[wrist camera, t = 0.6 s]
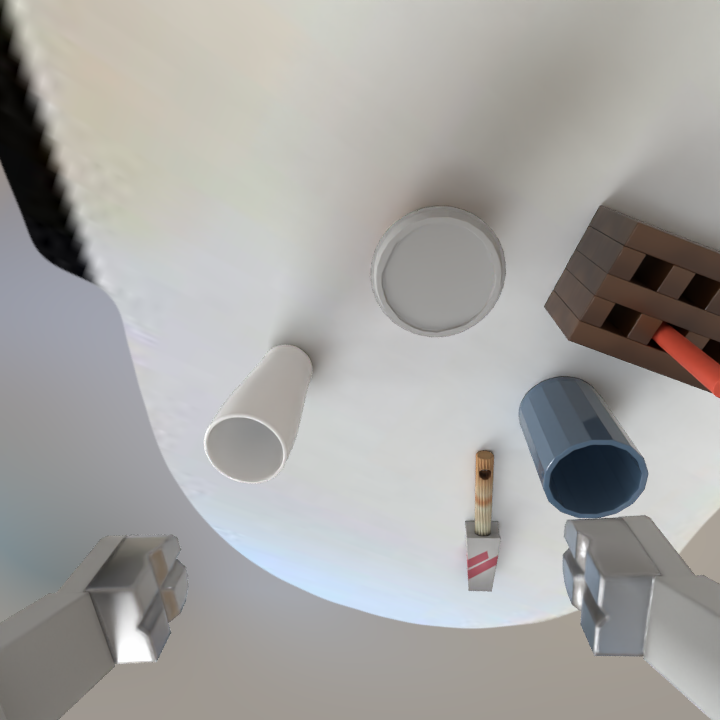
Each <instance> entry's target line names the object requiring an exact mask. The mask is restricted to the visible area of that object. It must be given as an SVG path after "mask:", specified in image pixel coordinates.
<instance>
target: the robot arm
mask: <svg viewBox="0 0 720 720" xmlns="http://www.w3.org/2000/svg"><path fill="white" fill-rule="evenodd" d="M564 538H565V540H566V542H567V544H568V546H569V548H568V550H567V551H566V552H565V553H564V554H563V575H564V582H565V586H566V590H567V593H568V596H569V598H570V601H571V603H572V605H573V606H575V607H576V608H577V609H578V610H580V611H581V626H582V629H583V631H584V633H585V635H586V638H587V640H588V642H589V645H590V647H591V649H592V651H593V654H594V655H595V656H644V658H643V659H644V660H645V661H646V662H648V663H649V664H650V665H651V666H652V667H653V668H654V669H655V670H657V671H658V672H659V673H660V674H661V675H662V676H663V677H664V678H665V679H667V680H668V681H669V682H670V683H671V684H672V685H673V686H674V687H675V688H677V689H678V690H679V691H680V692H681V693H682V694H684V695H685V696H686V697H687V698H688V699H689V700H690V701H691V702H692V703H693V704H694V705H696V706H697V707H698V708H699V709H700V710H701V711H702V712H703V713H704V714H706V715H707V716H708V717H709V718H710V719H711V720H720V584H719V583H717V582H715V581H713V580H711V579H709V578H708V577H706V576H704V575H695V574H694V573H693V572H692V571H691V569H690V568H689V567H688V565H687V564H686V563H685V562H684V560H683V559H682V558H681V557H680V555H679V554H678V553H677V551H676V550H675V549H674V548H673V546H672V545H671V544H670V543H669V541H668V540H667V539H666V537H665V536H664V535H663V534H662V532H661V531H660V530H659V529H658V527H657V526H656V525H655V523H654V522H653V521H652V520H651V518H649V517H647V516H646V515H641V516H625V517H618V518H599V519H576V520H567V521H566V524H565V529H564ZM180 551H181V548H180V545H179V541H178V538H177V537H176V536H174V535H129V536H126V535H122V536H106V537H104V538H102V539H100V540H99V541H98V543H97V544H96V545H95V547H94V548H93V549H92V550H91V551H90V552H89V554H88V555H87V556H86V557H85V559H84V560H83V561H82V562H81V563H80V565H79V566H78V567H77V569H76V570H75V571H74V572H73V573H72V575H71V576H70V577H69V578H68V579H67V581H66V582H65V583H64V584H63V586H62V587H61V588H60V589H59V590H58V592H57V593H49V594H47V595H45V596H44V597H43V598H41V599H39V600H37V601H36V602H34V603H33V604H31V605H29V606H27V607H26V608H24V609H22V610H21V611H19V612H17V613H16V614H14V615H12V616H11V617H9V618H7V619H6V620H4V621H2V622H1V623H0V720H58V719H60V718H61V717H62V716H63V715H64V714H65V713H66V712H67V711H68V710H69V709H70V708H71V707H72V706H73V705H74V704H76V703H77V702H78V701H79V700H80V699H81V698H82V697H83V696H84V695H85V694H86V693H87V692H88V691H89V690H90V689H92V688H93V687H94V686H95V685H96V684H97V683H98V682H99V681H100V680H101V679H102V678H103V677H104V676H105V675H106V674H107V673H109V672H110V671H111V670H112V669H113V668H114V667H115V664H125V663H146V662H157V660H158V658H159V656H160V654H161V652H162V650H163V648H164V646H165V644H166V642H167V639H168V637H169V635H170V634H171V631H170V627H169V624H168V623H169V622H171V621H172V620H173V619H174V618H175V617H177V616H178V615H179V614H180V613H181V611H182V609H183V606H184V604H185V602H186V597H187V591H188V575H187V570H186V567H185V566H184V565H183V564H182V563H181V562H180V561H179V560H178V559H177V556H178V555H179V553H180Z"/></svg>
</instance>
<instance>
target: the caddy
mask: <svg viewBox="0 0 720 720" xmlns="http://www.w3.org/2000/svg"><path fill="white" fill-rule="evenodd" d="M544 307H545V309H546V310H547V311H548V313H549V314H550V315H551V317H552V318H553V320H554V321H555V322H556V324H557V325H558V327H559V328H560V329H561V331H562V332H563V334H564V335H565V336H566V338H567V339H568V340H569V341H572V342H575V343H577V344H580V345H583V346H586V347H588V348H591V349H594V350H596V351H599V352H602V353H605V354H607V355H610V356H613V357H615V358H618V359H621V360H624V361H626V362H629V363H632V364H634V365H637V366H640V367H643V368H645V369H648V370H651V371H653V372H656V373H659V374H662V375H664V376H667V377H670V378H672V379H675V380H678V381H681V382H683V383H686V384H689V385H691V386H694V387H697V388H700V389H702V390H705V391H708V392H710V393H712V392H711V391H709V390H708V389H707V388H706V387H705V386H704V385H703V384H702V383H701V382H699V381H698V380H697V379H696V378H695V377H694V376H693V375H692V374H691V373H689V372H688V371H687V370H686V369H685V368H684V367H683V366H682V365H680V364H679V363H678V362H677V361H676V360H675V359H674V358H673V357H672V356H670V355H669V354H668V353H667V352H666V351H665V350H664V349H663V348H662V347H660V346H659V345H658V344H657V343H656V342H655V341H654V340H653V339H652V337H653V335H654V334H655V332H656V331H657V329H658V328H659V327H660V325H661V324H662V322H663V321H665V322H666V323H667V324H669V325H670V326H671V327H673V328H674V329H675V330H676V331H678V332H679V333H680V334H681V335H683V336H684V337H685V338H687V339H688V340H689V341H690V342H692V343H693V344H694V345H695V346H697V347H698V348H699V349H701V350H702V351H703V352H704V353H706V354H707V355H708V356H710V357H711V358H712V359H713V360H715V361H716V362H717V363H718V364H720V252H719V251H717V250H714V249H712V248H709V247H707V246H704V245H701V244H699V243H696V242H694V241H691V240H689V239H686V238H683V237H681V236H678V235H676V234H673V233H671V232H668V231H665V230H663V229H660V228H658V227H655V226H652V225H650V224H647V223H645V222H642V221H640V220H637V219H634V218H632V217H629V216H627V215H624V214H622V213H619V212H616V211H614V210H611V209H609V208H606V207H604V206H600V207H599V208H598V210H597V212H596V214H595V216H594V217H593V219H592V221H591V223H590V226H588V228H587V230H586V232H585V234H584V235H583V237H582V239H581V241H580V243H579V244H578V246H577V248H576V250H575V251H574V253H573V255H572V257H571V259H570V260H569V262H568V264H567V266H566V268H565V270H564V272H563V274H562V275H561V277H560V279H559V281H558V283H557V284H556V286H555V288H554V290H553V292H552V293H551V295H550V297H549V299H548V301H547V302H546V304H545V306H544Z"/></svg>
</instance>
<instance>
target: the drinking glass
mask: <svg viewBox="0 0 720 720" xmlns="http://www.w3.org/2000/svg"><path fill="white" fill-rule="evenodd" d="M312 371H313V369H312V363H311V361H310V359H309V357H308V356H307V354H306V353H305V352H304V351H302V350H301V349H299V348H298V347H295V346H292V345H278V346H275V347H273V348H271V349H270V350H269V351H268V352H267V353H266V354H265V355H264V357H263V358H262V360H261V361H260V362H259V364H258V365H257V366H256V367H255V368H254V369H253V370H252V371H251V373H250V374H249V375H248V376H247V377H246V378H245V379H244V380H243V381H242V382H241V384H240V385H239V386H238V387H237V388H236V389H235V390H234V391H233V392H232V394H231V395H230V396H229V397H228V398H227V399H226V401H225V402H224V403H223V405H222V406H221V408H220V409H219V411H218V412H217V414H216V415H215V417H214V419H213V420H212V422H211V424H210V426H209V427H208V429H207V431H206V433H205V437H204V448H205V452H206V455H207V457H208V459H209V461H210V462H211V464H212V465H213V466H214V467H215V468H216V469H217V470H218V471H219V472H220V473H222V474H223V475H225V476H226V477H228V478H230V479H232V480H235V481H238V482H242V483H248V484H256V483H262V482H266V481H268V480H271V479H272V478H274V477H276V476H277V475H278V474H279V473H280V472H281V471H282V469H283V468H284V466H285V463H286V461H287V459H288V457H289V455H290V453H291V450H292V448H293V445H294V442H295V440H296V437H297V433H298V429H299V425H300V421H301V416H302V412H303V407H304V403H305V398H306V394H307V389H308V385H309V382H310V380H311V377H312Z"/></svg>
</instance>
